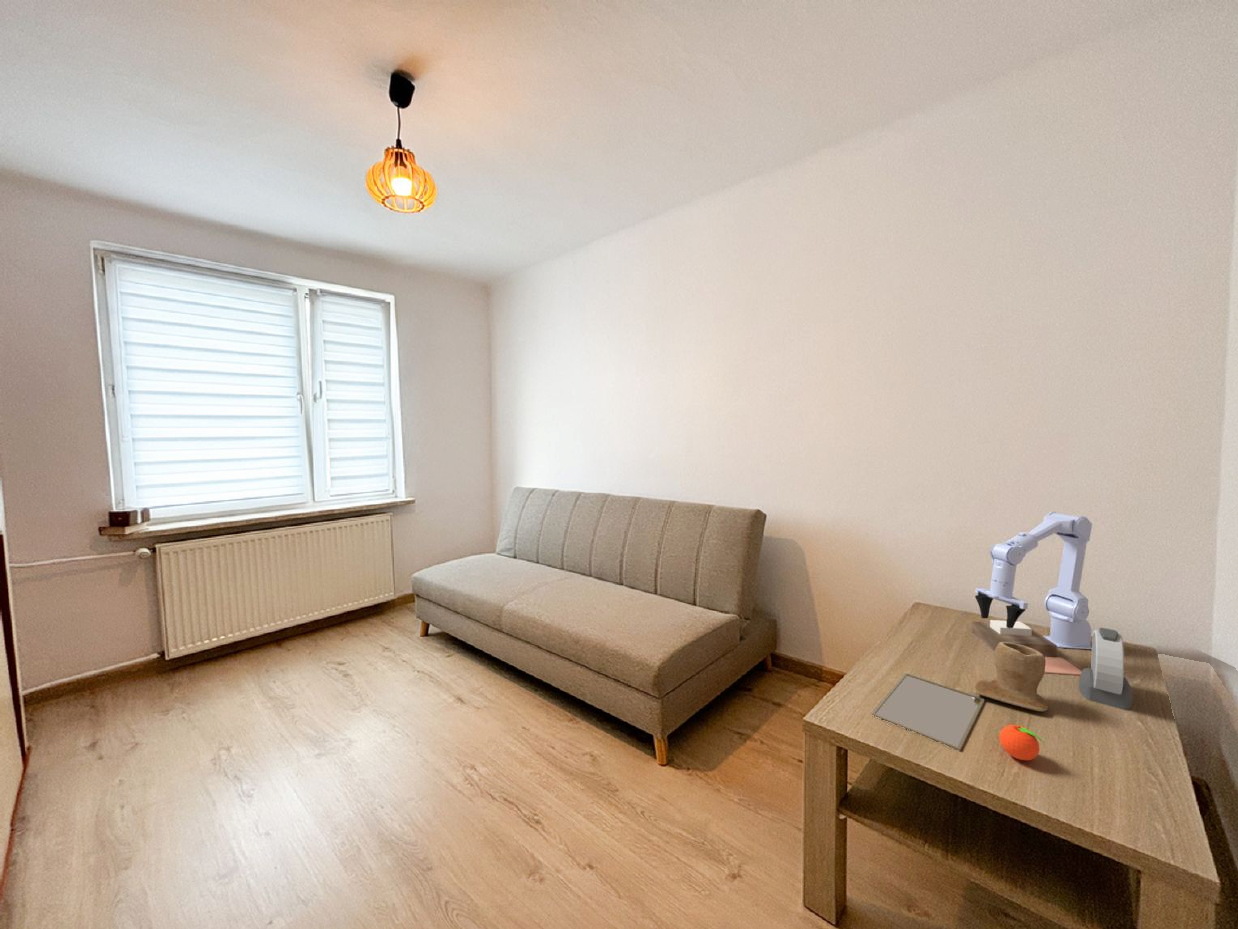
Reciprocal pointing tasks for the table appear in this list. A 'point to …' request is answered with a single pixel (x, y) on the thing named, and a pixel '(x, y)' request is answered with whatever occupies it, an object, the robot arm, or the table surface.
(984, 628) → the plate
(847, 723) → the table surface
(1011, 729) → the clementine
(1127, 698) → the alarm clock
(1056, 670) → the mat
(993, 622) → the tile
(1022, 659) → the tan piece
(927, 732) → the picture frame
